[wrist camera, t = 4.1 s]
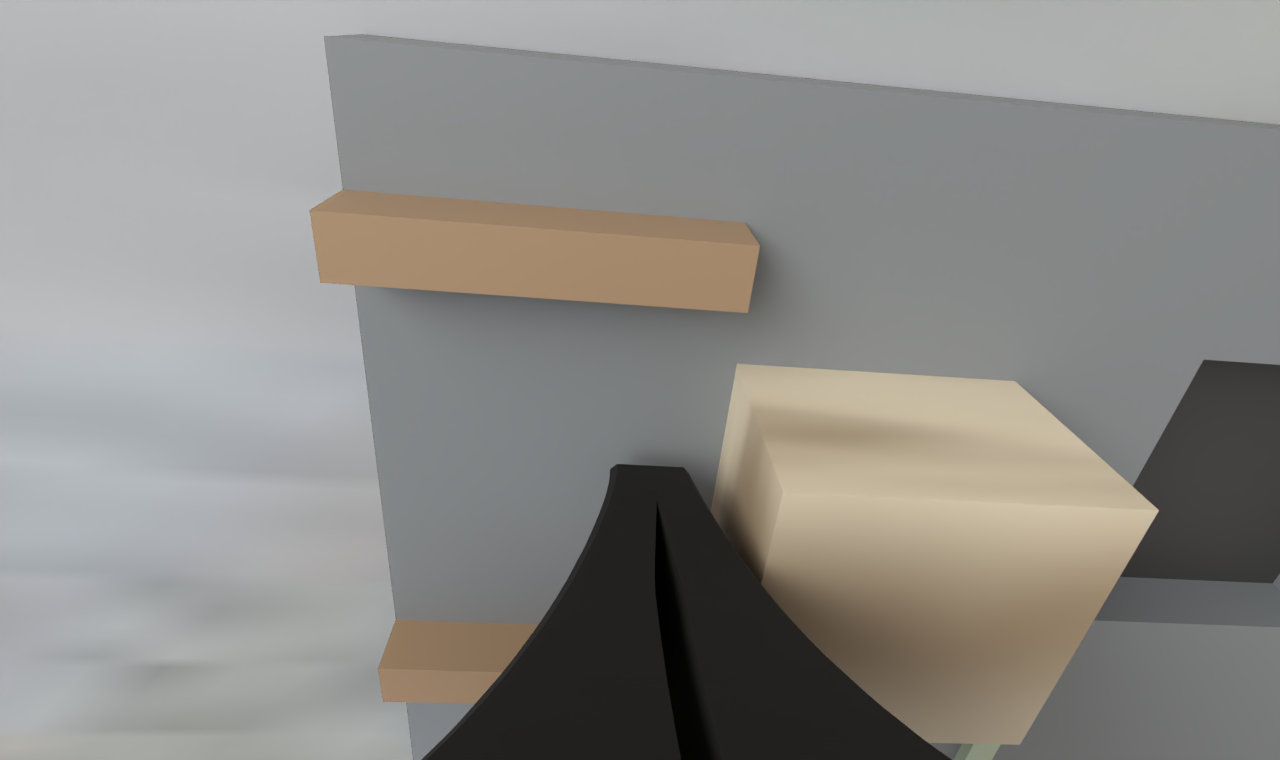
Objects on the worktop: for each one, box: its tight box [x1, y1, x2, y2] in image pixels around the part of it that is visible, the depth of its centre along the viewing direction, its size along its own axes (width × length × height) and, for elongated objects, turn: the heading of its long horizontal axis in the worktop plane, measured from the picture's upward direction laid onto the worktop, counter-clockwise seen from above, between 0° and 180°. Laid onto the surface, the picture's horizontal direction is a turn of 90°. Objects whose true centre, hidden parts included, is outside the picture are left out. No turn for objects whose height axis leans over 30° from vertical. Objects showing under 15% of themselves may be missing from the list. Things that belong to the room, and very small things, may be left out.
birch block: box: [711, 364, 1159, 745], centre depth 11 cm, size 5×5×4 cm
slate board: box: [310, 34, 1280, 760], centre depth 14 cm, size 18×23×3 cm
